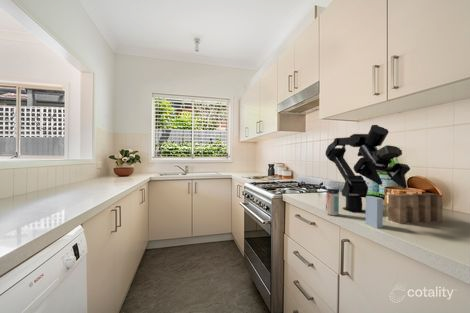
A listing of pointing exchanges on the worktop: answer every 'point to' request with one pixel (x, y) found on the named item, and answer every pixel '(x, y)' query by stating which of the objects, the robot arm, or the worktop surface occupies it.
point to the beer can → (332, 200)
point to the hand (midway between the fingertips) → (393, 185)
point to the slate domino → (374, 211)
